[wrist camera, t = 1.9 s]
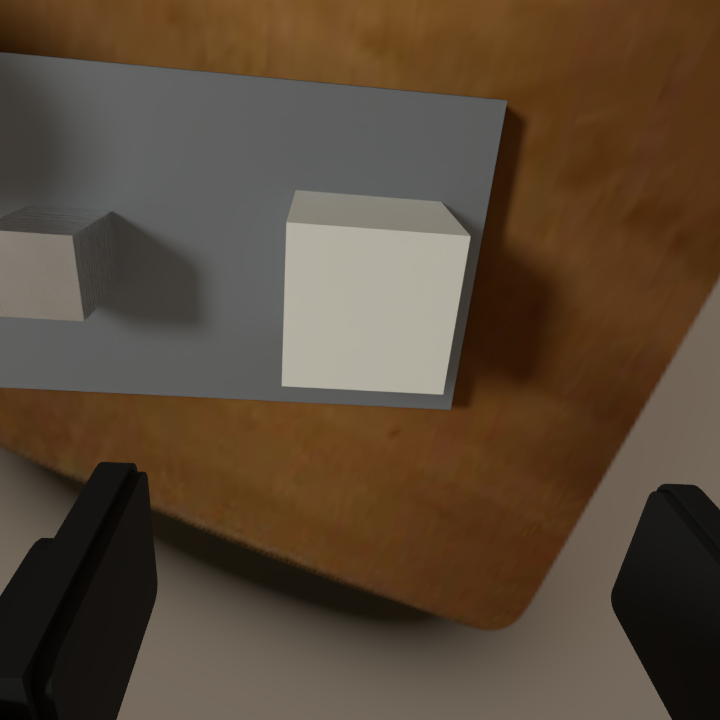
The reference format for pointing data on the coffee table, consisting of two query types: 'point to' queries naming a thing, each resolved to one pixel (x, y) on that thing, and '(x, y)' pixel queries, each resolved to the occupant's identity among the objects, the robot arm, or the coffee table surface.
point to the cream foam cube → (370, 292)
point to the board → (216, 212)
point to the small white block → (56, 262)
